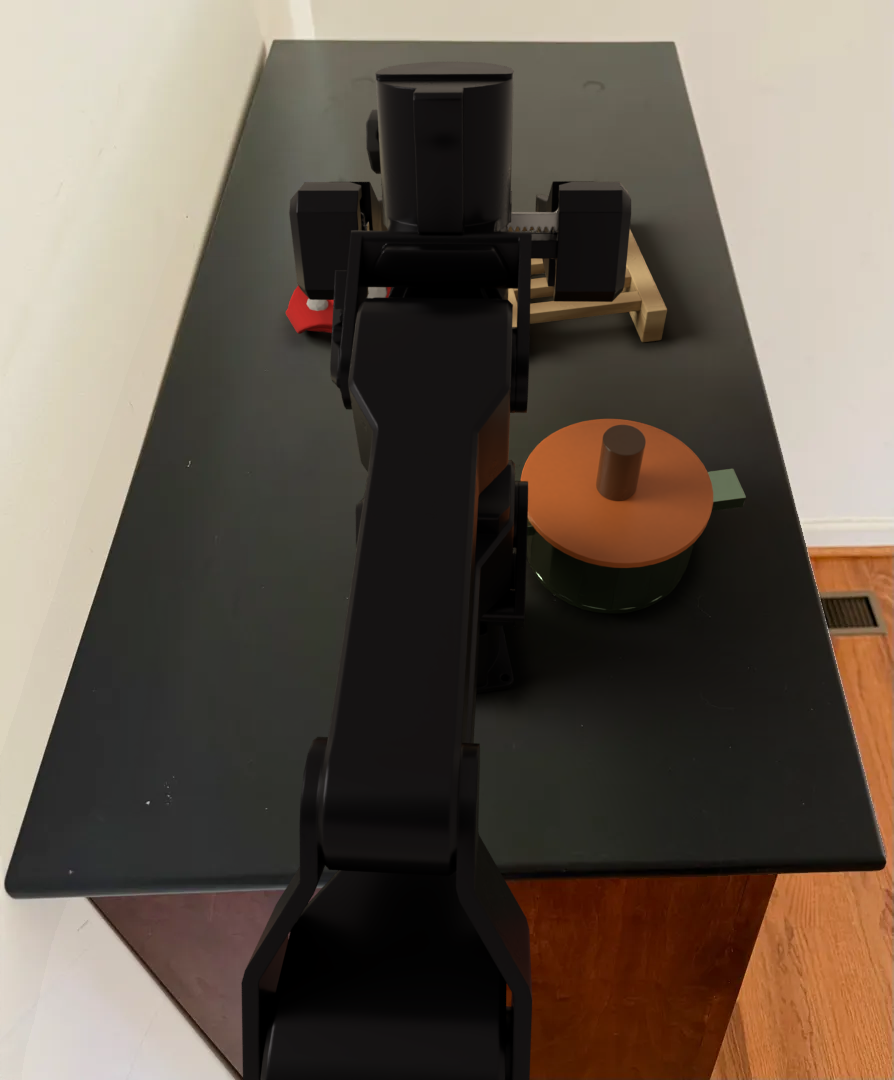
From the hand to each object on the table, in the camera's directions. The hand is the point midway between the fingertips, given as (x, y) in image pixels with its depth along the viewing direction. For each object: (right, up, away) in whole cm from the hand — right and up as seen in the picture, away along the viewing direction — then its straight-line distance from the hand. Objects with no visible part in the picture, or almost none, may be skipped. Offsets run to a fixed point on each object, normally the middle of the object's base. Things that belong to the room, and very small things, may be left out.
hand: (466, 202), depth 58 cm
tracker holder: (-9, -2, +17) cm, 19 cm away
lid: (+9, -19, -4) cm, 21 cm away
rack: (+8, -1, +17) cm, 19 cm away
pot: (+9, -22, +1) cm, 24 cm away
